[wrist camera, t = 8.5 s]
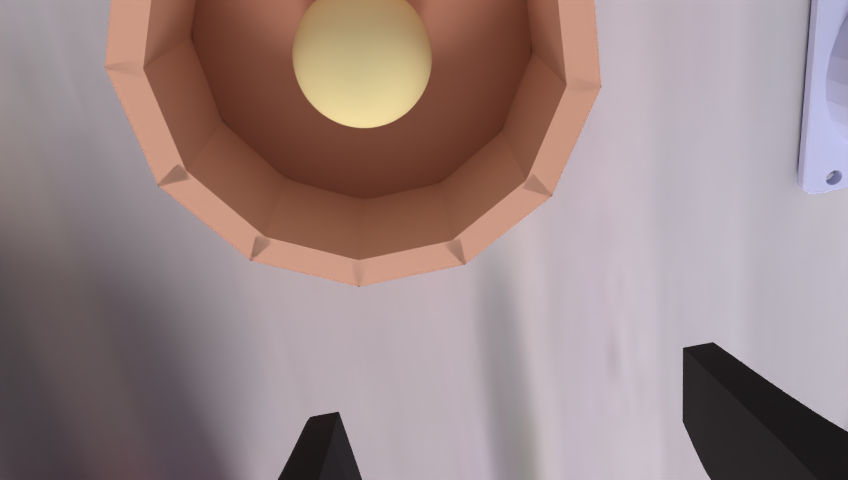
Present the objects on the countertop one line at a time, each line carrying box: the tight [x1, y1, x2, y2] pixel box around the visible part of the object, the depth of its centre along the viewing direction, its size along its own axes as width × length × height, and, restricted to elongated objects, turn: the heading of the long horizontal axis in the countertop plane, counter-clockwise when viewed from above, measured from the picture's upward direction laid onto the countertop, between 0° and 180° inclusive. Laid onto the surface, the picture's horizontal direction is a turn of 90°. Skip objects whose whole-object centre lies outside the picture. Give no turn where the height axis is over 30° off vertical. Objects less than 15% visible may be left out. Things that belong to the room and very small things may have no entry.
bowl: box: [105, 0, 601, 287], centre depth 16 cm, size 11×11×4 cm
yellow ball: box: [292, 0, 432, 128], centre depth 16 cm, size 4×4×4 cm
